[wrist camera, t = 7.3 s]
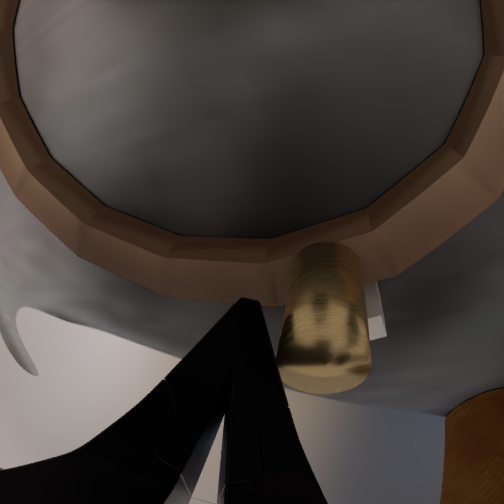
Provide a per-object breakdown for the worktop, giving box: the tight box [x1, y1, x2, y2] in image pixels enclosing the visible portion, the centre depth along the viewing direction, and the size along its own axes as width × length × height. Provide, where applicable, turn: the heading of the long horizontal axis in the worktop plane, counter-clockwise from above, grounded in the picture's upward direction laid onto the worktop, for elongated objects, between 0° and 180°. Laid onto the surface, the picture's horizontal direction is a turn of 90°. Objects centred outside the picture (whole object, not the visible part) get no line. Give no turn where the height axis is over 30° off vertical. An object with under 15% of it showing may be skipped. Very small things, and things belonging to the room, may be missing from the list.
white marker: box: [364, 282, 387, 340], centre depth 12 cm, size 1×2×2 cm, turn 118°
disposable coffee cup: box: [440, 389, 504, 504], centre depth 12 cm, size 10×10×12 cm
